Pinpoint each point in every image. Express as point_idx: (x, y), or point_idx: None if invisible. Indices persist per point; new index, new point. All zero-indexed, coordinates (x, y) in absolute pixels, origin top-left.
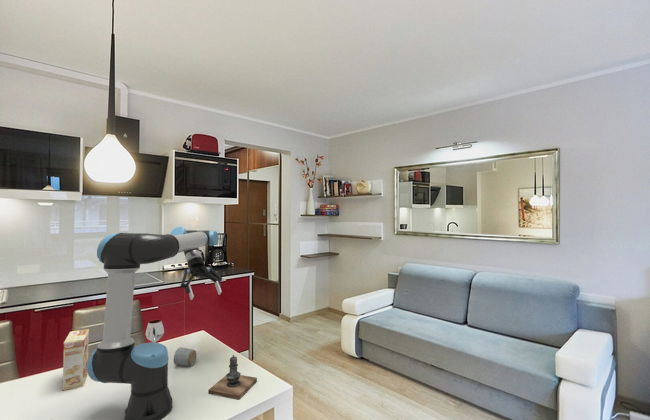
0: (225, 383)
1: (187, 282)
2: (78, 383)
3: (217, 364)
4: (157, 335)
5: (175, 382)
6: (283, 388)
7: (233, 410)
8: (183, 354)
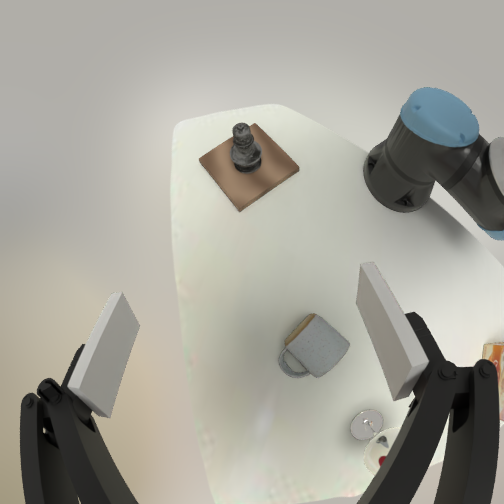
0: (261, 170)
1: (446, 398)
2: (492, 343)
3: (240, 289)
4: (390, 429)
5: (351, 256)
6: (178, 123)
7: (274, 109)
8: (328, 329)
